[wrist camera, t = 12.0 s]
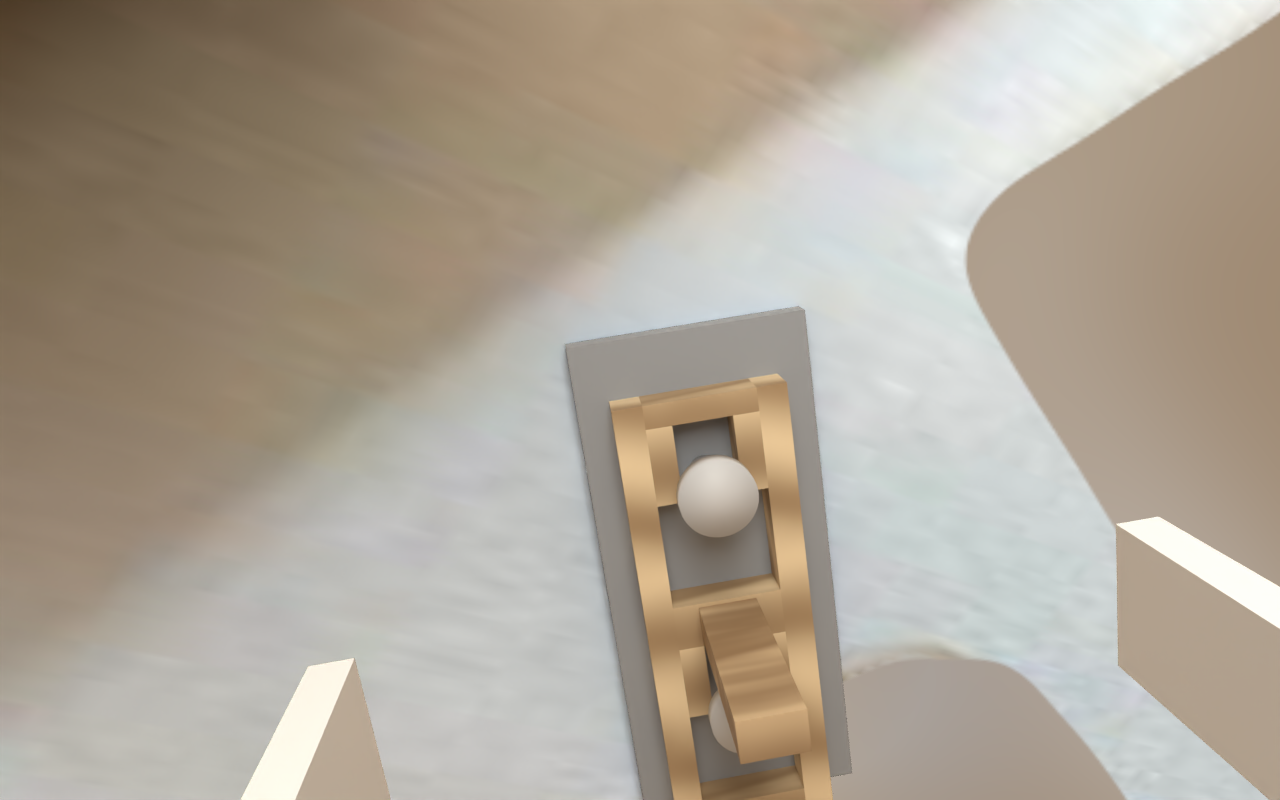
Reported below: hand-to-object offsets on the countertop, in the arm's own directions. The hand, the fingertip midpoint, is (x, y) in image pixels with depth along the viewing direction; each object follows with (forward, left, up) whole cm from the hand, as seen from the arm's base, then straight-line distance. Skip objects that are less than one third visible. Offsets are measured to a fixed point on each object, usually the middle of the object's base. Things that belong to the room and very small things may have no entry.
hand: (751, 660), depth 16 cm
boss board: (+14, +3, -32) cm, 35 cm away
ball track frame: (+15, +3, -31) cm, 34 cm away
